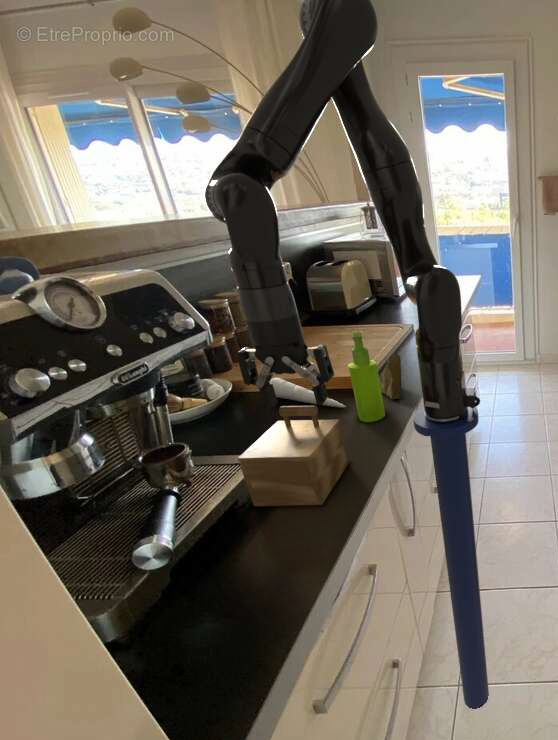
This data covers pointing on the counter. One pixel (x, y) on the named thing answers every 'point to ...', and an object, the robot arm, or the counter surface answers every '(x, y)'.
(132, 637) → the counter surface
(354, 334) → the soap dispenser
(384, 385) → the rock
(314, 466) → the caddy
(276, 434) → the lid
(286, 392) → the unicorn horn
